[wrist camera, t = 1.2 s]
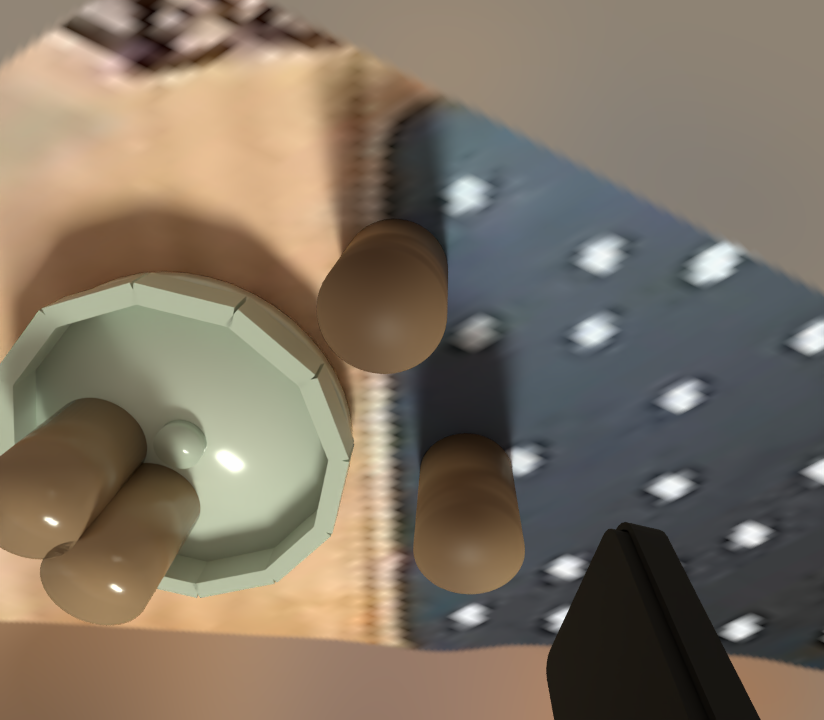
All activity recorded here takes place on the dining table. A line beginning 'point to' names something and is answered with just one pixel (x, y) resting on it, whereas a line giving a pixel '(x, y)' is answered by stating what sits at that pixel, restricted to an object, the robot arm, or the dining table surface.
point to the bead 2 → (467, 516)
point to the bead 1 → (386, 298)
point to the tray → (167, 444)
